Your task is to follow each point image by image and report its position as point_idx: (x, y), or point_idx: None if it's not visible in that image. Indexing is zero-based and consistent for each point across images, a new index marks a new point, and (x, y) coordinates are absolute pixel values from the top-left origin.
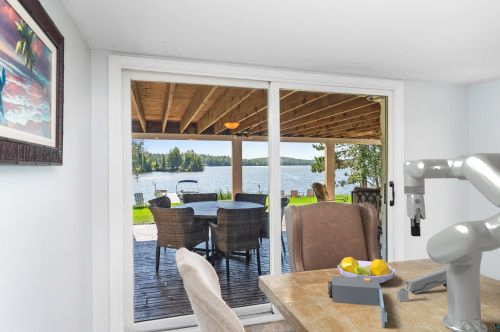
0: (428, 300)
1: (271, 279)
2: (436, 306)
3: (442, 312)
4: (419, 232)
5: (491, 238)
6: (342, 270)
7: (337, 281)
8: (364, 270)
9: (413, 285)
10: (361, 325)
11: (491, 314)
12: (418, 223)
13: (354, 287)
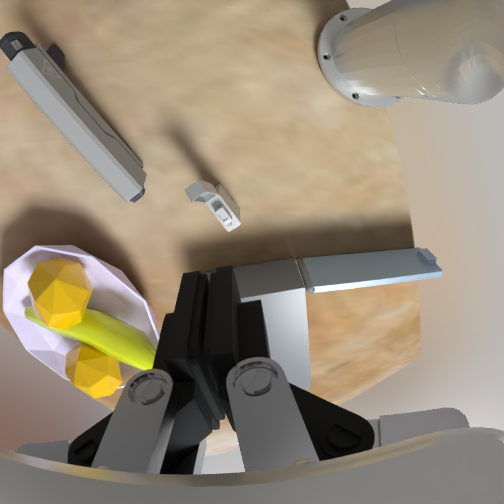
0: (184, 121)
1: (214, 447)
2: (233, 100)
3: (281, 89)
4: (234, 299)
5: None
6: None
7: None
8: (120, 338)
9: (202, 181)
10: (410, 288)
11: None
12: (349, 421)
13: (308, 347)
